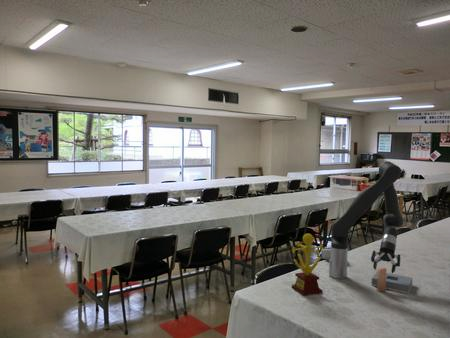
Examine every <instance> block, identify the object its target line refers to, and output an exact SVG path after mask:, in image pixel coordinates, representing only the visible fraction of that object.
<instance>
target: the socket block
mask: <svg viewBox="0 0 450 338" xmlns="http://www.w3.org/2000/svg"><path fill="white" fill-rule="evenodd" d="M371 286H373V287H378V270H377V271H376V273H374V275H373V276H372V278H371ZM412 287H413V277H410V276H403V275H399V274H393V273H389V272H386V290H391V291H396V292H401V293H405V294H410V291H411V290H412V289H411V288H412Z"/></svg>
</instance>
